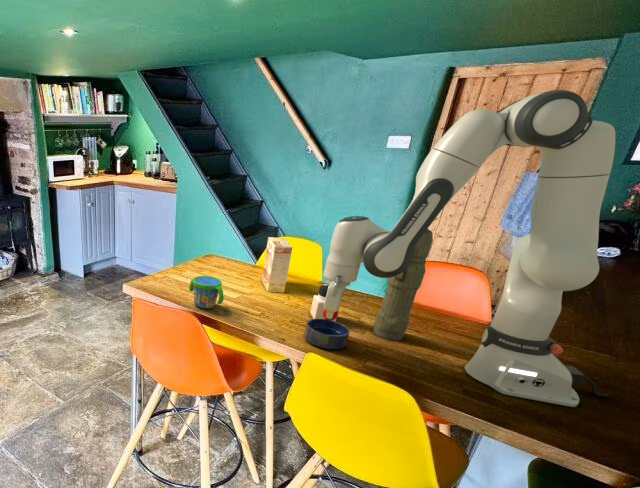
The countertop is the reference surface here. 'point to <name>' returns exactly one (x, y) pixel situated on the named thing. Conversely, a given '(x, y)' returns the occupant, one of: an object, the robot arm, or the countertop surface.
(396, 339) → the olive grey tall cylinder
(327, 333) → the bowl
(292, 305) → the countertop surface
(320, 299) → the medicine bottle
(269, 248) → the coffeecake box
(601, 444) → the countertop surface
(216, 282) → the snack cup
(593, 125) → the robot arm
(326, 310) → the tomato
